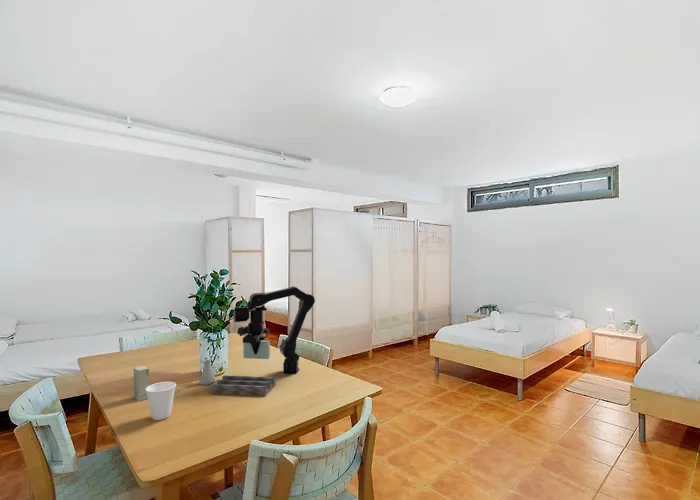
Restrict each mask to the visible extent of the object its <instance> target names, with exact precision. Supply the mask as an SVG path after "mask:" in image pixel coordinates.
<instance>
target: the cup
mask: <svg viewBox="0 0 700 500" xmlns="http://www.w3.org/2000/svg"><path fill="white" fill-rule="evenodd" d="M176 386H177V383H176V382H173V381H161V382H160V381H159V382H156V383H153V384H150V386H148V387H147V388H146V389H145V390H146V392H147V397H148V399H147V400H148V405H149V410H150V415H151V419H152V420H153V421H162V420H165V419H168V418H170V416H171V414H172V409H173V403H174V398H175V397H174V396H175V392H176Z"/></svg>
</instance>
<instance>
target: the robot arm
mask: <svg viewBox="0 0 700 500" xmlns="http://www.w3.org/2000/svg"><path fill="white" fill-rule="evenodd" d="M292 296H294V298H296V299H298V300H299V302H298V310H297V314H296V315H295V318H294V320H293V322H292V326H291V329H290V330H289V333H288V336H287V337H286V338H285V339H284V338H282V339H281V343H280V345H279V351H280V354H281V355H282V356H283V357H284V358H285V359H284V362H283V365H282V366H283V367H282V368H283V372H282V373H283V374H292V375H294V374H297V373H298V372H299V371H300V368H299V360H300V355H299V354H298V353H297V352H296V350H297V339H298V337H299V334H300V332H301V330H302V327H303V324H304V322H305V319H306V316H307V314H308V312H310V310H311V309H312V308H313V306H314V304H315V303H316V299H315V296H314V295H312V294H309V293H306V292H304V291H302V290H300V289H299V288H298V287H296V286H290V287H285V288H283V289H278V290H274V291H270V292H253V293H252V294H250V296H249V299H248V302H247V303H246V304H245V306H240V307H239V306H236V307H235V306H234V309H233V314H232V317H233V318H232V320H233V323H241V322H242V323H243V322H248V321H249V319H250V322H248V324H247V326H245V327H244V326H241V327H240V326H239V327H238V328H237V334H238V335H239V336H240V337H242V336H243V337H242V343H250V344H251V346H252V348H253V351H254V354H257V352H258V349H259V346H260V343H261V340H265V339H266V338H267V335H268V336H269V335H270V329H269V328H268V327H264V324H265V321H263V320H264V319H263V317H264V315H263V314H264V311H267V310H268V309H267V308H266V307H265V305H266V304H267V303H269V302H272V301H275V300H279V299H283V298H288V297H292ZM245 312H246V313H245ZM263 334H265V336H264V335H263Z"/></svg>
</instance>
